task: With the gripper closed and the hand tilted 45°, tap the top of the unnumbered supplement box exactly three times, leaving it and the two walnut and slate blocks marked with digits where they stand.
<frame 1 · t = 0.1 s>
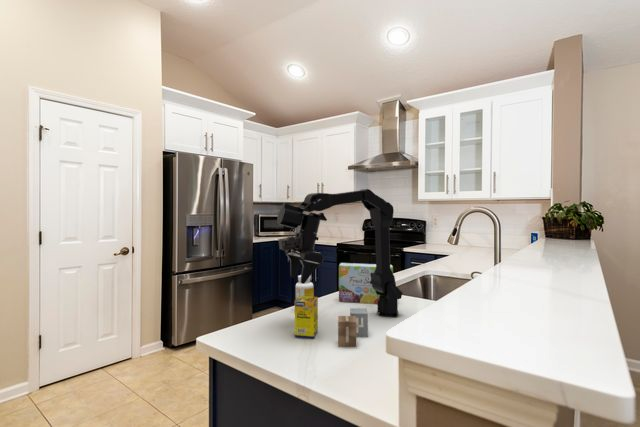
hand: (297, 280, 109), 15 cm above the counter, tool pointing down, fingers open, 9 cm apart
walnut block 1: (347, 343, 98), on the counter
supplement bottle: (304, 311, 128), on the counter
slate block 4: (358, 333, 105), on the counter
supplement box: (306, 335, 104), on the counter
snack box: (365, 302, 138), on the counter
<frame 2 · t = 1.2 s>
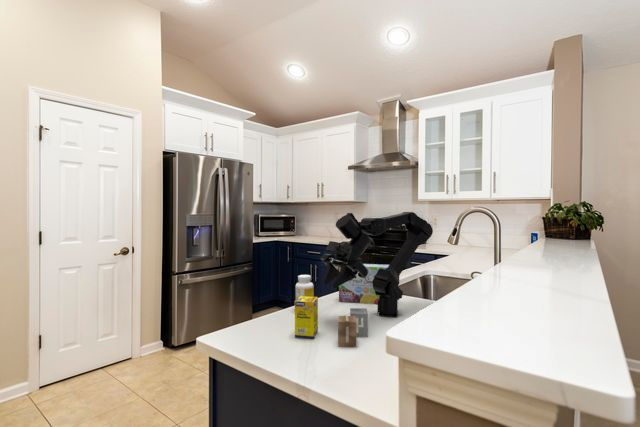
hand: (328, 286, 108), 14 cm above the counter, tool tilted 45°, fingers open, 4 cm apart
nothing on the counter moved.
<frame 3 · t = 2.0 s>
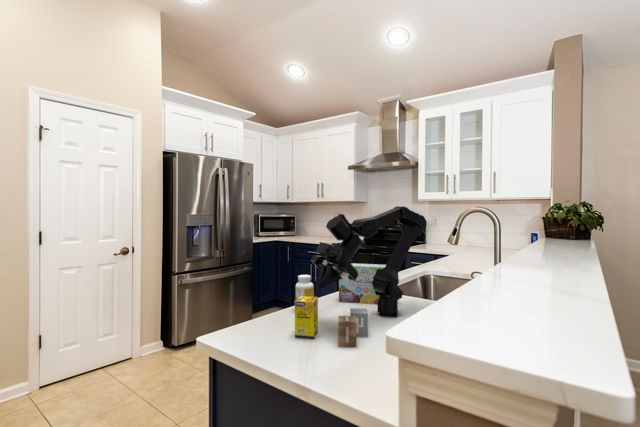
hand: (317, 288, 106), 13 cm above the counter, tool tilted 45°, fingers closed
nothing on the counter moved.
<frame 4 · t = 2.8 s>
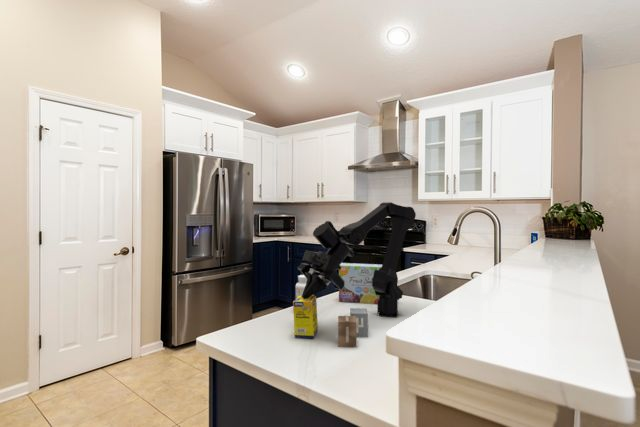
hand: (303, 297, 103), 11 cm above the counter, tool tilted 45°, fingers closed, pressing on supplement box
supplement box: (306, 334, 104), on the counter, touching gripper
everything else where it was.
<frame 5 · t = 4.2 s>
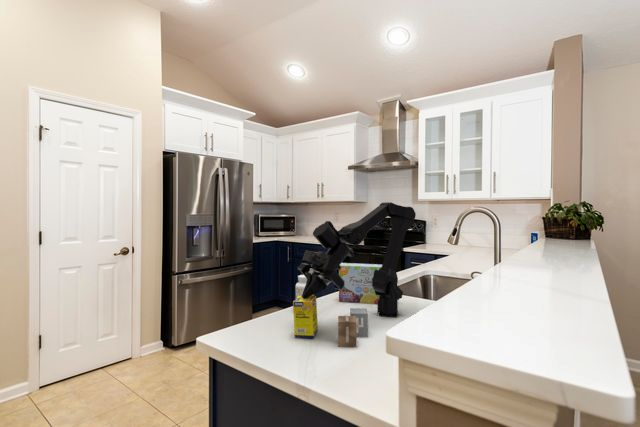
hand: (303, 297, 103), 11 cm above the counter, tool tilted 45°, fingers closed, pressing on supplement box
supplement box: (306, 334, 104), on the counter, touching gripper
everything else where it was.
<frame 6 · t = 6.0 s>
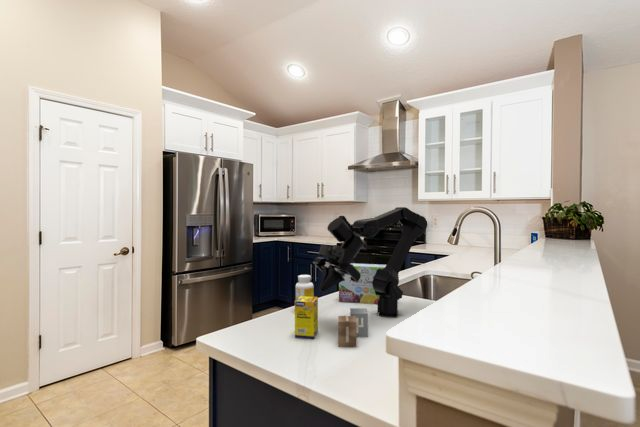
hand: (320, 290, 107), 13 cm above the counter, tool tilted 45°, fingers closed
supplement box: (306, 335, 104), on the counter
everything else where it was.
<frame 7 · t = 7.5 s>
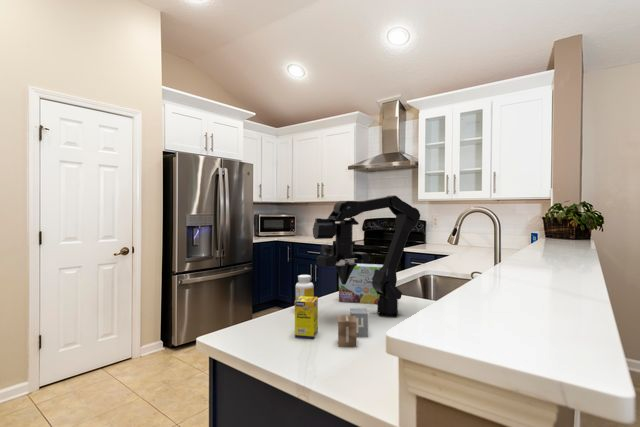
hand: (343, 284, 117), 12 cm above the counter, tool pointing down, fingers closed
nothing on the counter moved.
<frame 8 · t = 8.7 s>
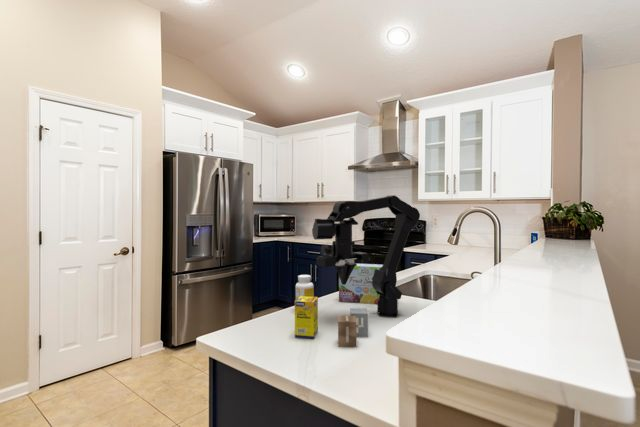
hand: (343, 284, 117), 12 cm above the counter, tool pointing down, fingers closed
nothing on the counter moved.
at the end: supplement box moved 0.3 cm from its start; supplement box tilted 0°; walnut block 1 moved 0.1 cm from its start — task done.
